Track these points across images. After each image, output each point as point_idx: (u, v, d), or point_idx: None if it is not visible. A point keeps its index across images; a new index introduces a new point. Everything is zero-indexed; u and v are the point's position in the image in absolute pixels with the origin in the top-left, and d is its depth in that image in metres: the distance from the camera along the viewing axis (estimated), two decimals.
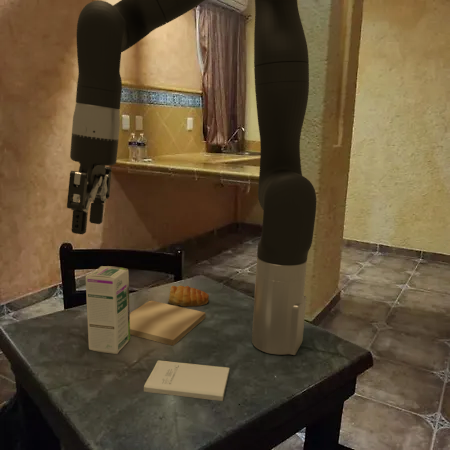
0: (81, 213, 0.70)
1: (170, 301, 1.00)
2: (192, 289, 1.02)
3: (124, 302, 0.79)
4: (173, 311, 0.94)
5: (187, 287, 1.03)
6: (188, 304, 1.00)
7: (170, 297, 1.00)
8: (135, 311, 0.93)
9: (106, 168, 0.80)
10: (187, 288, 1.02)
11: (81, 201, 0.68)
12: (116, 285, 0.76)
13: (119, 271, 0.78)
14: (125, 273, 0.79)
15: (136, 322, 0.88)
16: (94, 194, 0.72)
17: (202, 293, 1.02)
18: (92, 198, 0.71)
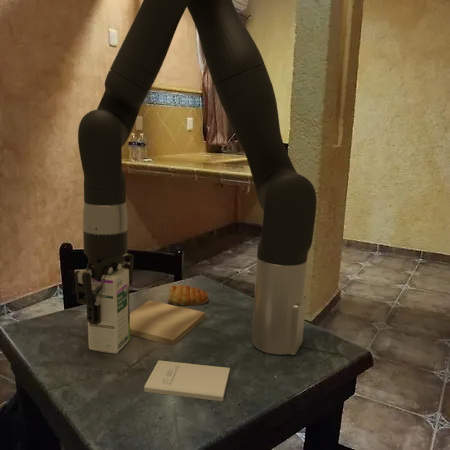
0: (92, 306, 0.75)
1: (170, 300, 1.00)
2: (191, 288, 1.03)
3: (124, 301, 0.79)
4: (173, 311, 0.94)
5: (186, 286, 1.03)
6: (188, 303, 1.00)
7: (170, 296, 1.00)
8: (135, 311, 0.93)
9: (128, 255, 0.83)
10: (186, 287, 1.03)
11: (87, 298, 0.73)
12: (117, 285, 0.76)
13: (119, 271, 0.78)
14: (126, 273, 0.79)
15: (136, 322, 0.88)
16: (104, 287, 0.76)
17: (201, 292, 1.03)
18: (102, 291, 0.76)
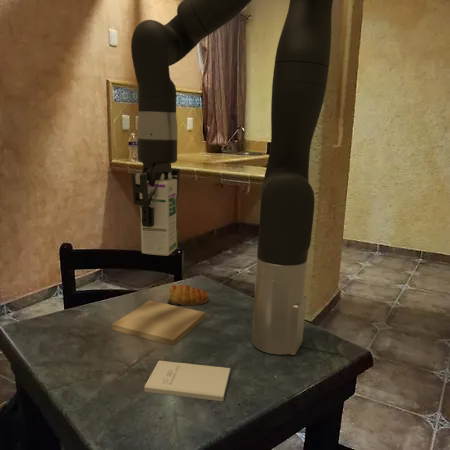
0: (147, 208, 0.81)
1: (170, 300, 1.01)
2: (191, 288, 1.03)
3: (173, 208, 0.85)
4: (173, 311, 0.94)
5: (186, 286, 1.03)
6: (188, 303, 1.00)
7: (170, 296, 1.01)
8: (135, 311, 0.93)
9: (174, 169, 0.89)
10: (186, 287, 1.03)
11: (143, 198, 0.79)
12: (168, 190, 0.82)
13: (169, 179, 0.85)
14: (175, 182, 0.86)
15: (136, 322, 0.88)
16: (157, 191, 0.82)
17: (201, 292, 1.03)
18: (156, 194, 0.82)
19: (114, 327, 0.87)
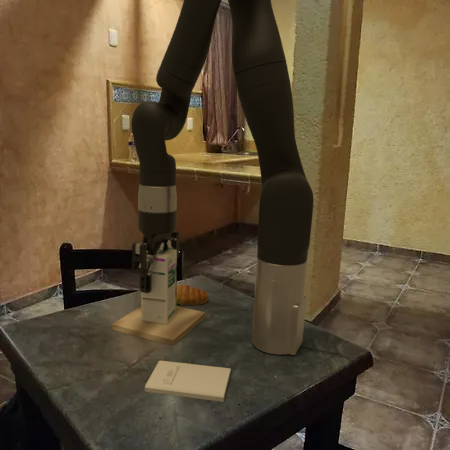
0: (145, 276, 0.84)
1: None
2: (191, 288, 1.03)
3: (173, 278, 0.89)
4: None
5: (186, 286, 1.03)
6: (187, 303, 1.00)
7: None
8: (135, 311, 0.93)
9: (174, 232, 0.92)
10: (186, 287, 1.03)
11: (142, 268, 0.82)
12: (168, 263, 0.85)
13: (169, 251, 0.88)
14: (174, 253, 0.89)
15: (136, 322, 0.88)
16: (156, 259, 0.85)
17: (201, 292, 1.03)
18: (154, 263, 0.84)
19: (114, 327, 0.87)
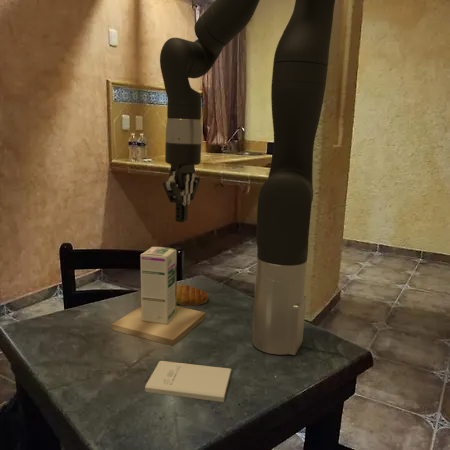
0: (180, 206, 0.94)
1: None
2: (191, 288, 1.03)
3: (173, 278, 0.89)
4: None
5: (186, 286, 1.03)
6: (187, 303, 1.00)
7: None
8: (135, 311, 0.93)
9: (196, 177, 0.98)
10: (186, 287, 1.03)
11: (177, 200, 0.91)
12: (168, 263, 0.86)
13: (169, 251, 0.88)
14: (174, 253, 0.89)
15: (136, 322, 0.88)
16: (186, 190, 0.93)
17: (201, 292, 1.03)
18: (186, 194, 0.93)
19: (114, 327, 0.87)
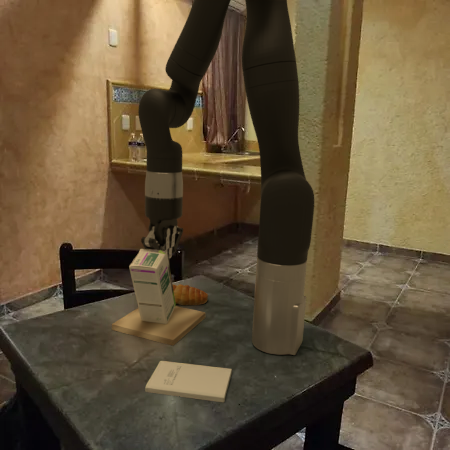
0: None
1: None
2: (191, 288, 1.03)
3: (167, 281, 0.85)
4: (173, 311, 0.94)
5: (186, 286, 1.03)
6: (186, 303, 1.00)
7: None
8: (135, 311, 0.93)
9: (179, 227, 0.94)
10: (186, 287, 1.03)
11: None
12: (159, 273, 0.81)
13: (159, 257, 0.83)
14: (165, 257, 0.84)
15: (136, 322, 0.88)
16: (167, 245, 0.88)
17: (201, 292, 1.02)
18: (167, 248, 0.88)
19: (114, 327, 0.87)
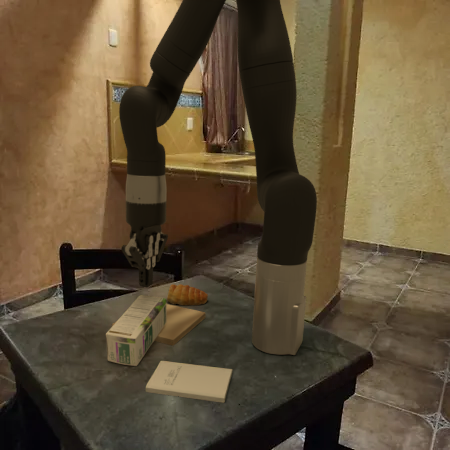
0: (144, 270, 0.83)
1: (168, 299, 1.01)
2: (191, 288, 1.03)
3: (150, 333, 0.78)
4: (173, 311, 0.94)
5: (186, 286, 1.03)
6: (186, 303, 1.00)
7: (168, 295, 1.01)
8: None
9: (163, 234, 0.88)
10: (186, 287, 1.03)
11: (139, 265, 0.81)
12: (140, 357, 0.76)
13: (131, 349, 0.73)
14: (137, 342, 0.73)
15: None
16: (150, 253, 0.82)
17: (201, 293, 1.02)
18: (150, 257, 0.83)
19: None
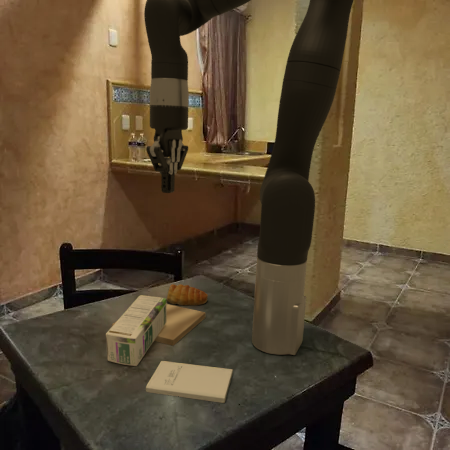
0: (167, 175, 0.87)
1: (168, 299, 1.01)
2: (191, 288, 1.03)
3: (150, 333, 0.78)
4: (173, 311, 0.94)
5: (186, 286, 1.03)
6: (186, 303, 1.00)
7: (168, 295, 1.01)
8: None
9: (184, 145, 0.92)
10: (185, 287, 1.03)
11: (163, 167, 0.84)
12: (140, 357, 0.76)
13: (131, 349, 0.73)
14: (137, 342, 0.73)
15: None
16: (172, 158, 0.86)
17: (200, 293, 1.02)
18: (173, 161, 0.86)
19: None
